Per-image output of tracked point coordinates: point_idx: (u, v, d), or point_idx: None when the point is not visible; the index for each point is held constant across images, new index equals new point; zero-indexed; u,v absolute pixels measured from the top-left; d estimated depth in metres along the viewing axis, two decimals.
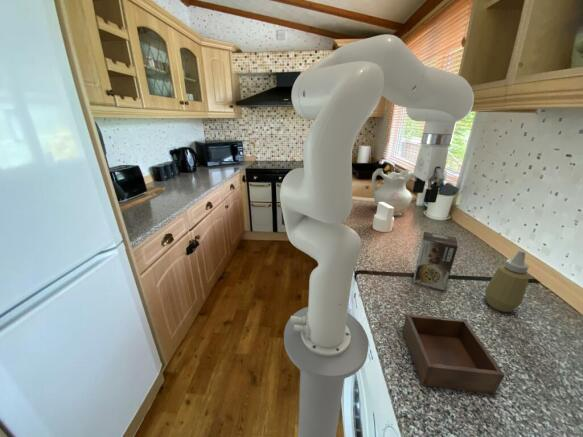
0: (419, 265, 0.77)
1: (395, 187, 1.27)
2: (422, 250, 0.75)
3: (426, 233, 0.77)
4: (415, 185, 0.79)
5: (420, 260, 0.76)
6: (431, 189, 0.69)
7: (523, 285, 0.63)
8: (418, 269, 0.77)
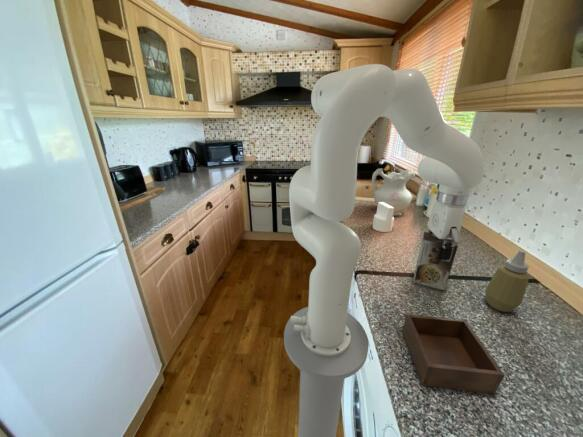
0: (419, 265, 0.77)
1: (395, 187, 1.27)
2: (422, 250, 0.75)
3: (426, 233, 0.77)
4: None
5: (420, 260, 0.76)
6: (446, 248, 0.69)
7: (523, 285, 0.63)
8: (418, 269, 0.77)
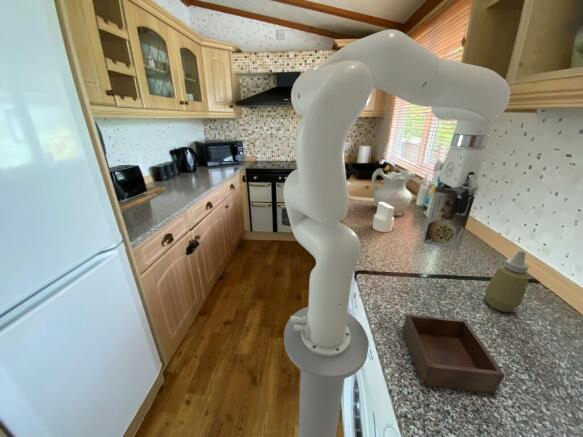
0: (430, 222, 0.69)
1: (395, 187, 1.27)
2: (434, 204, 0.67)
3: (438, 187, 0.70)
4: None
5: (431, 216, 0.69)
6: (461, 198, 0.62)
7: (523, 285, 0.63)
8: (429, 227, 0.70)
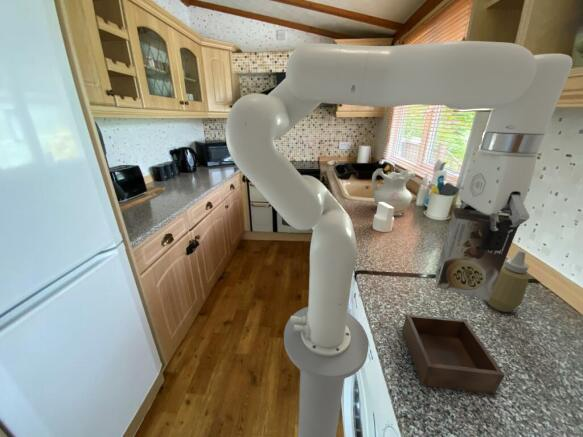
0: (447, 260, 0.48)
1: (395, 187, 1.27)
2: (454, 235, 0.46)
3: (458, 209, 0.48)
4: None
5: (449, 252, 0.47)
6: (498, 230, 0.40)
7: (523, 285, 0.63)
8: (445, 267, 0.48)
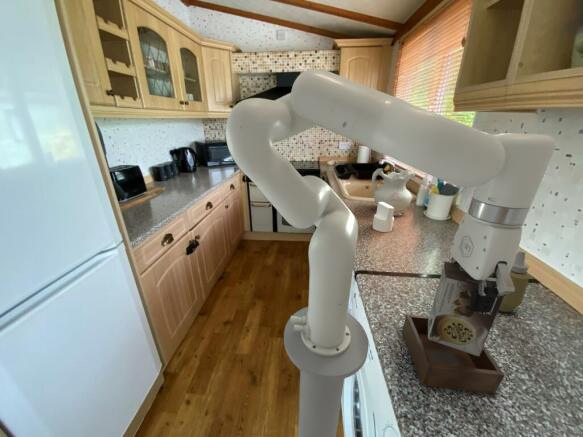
0: (438, 315, 0.48)
1: (395, 187, 1.27)
2: (444, 293, 0.46)
3: (449, 264, 0.49)
4: None
5: (440, 308, 0.48)
6: (486, 296, 0.41)
7: (523, 285, 0.63)
8: (436, 321, 0.49)
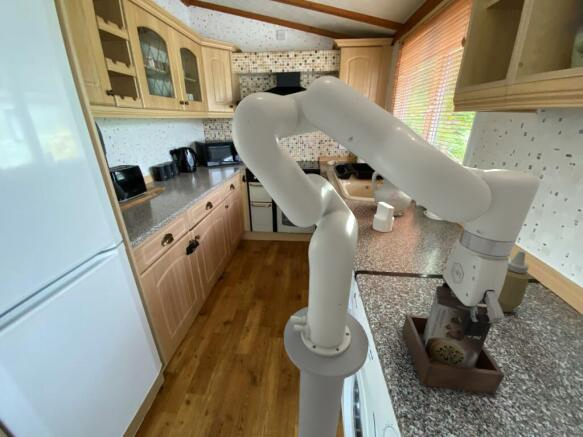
0: (431, 338, 0.51)
1: (395, 187, 1.27)
2: (436, 318, 0.49)
3: (441, 289, 0.51)
4: None
5: (432, 331, 0.50)
6: (478, 322, 0.42)
7: (523, 285, 0.63)
8: (429, 343, 0.51)
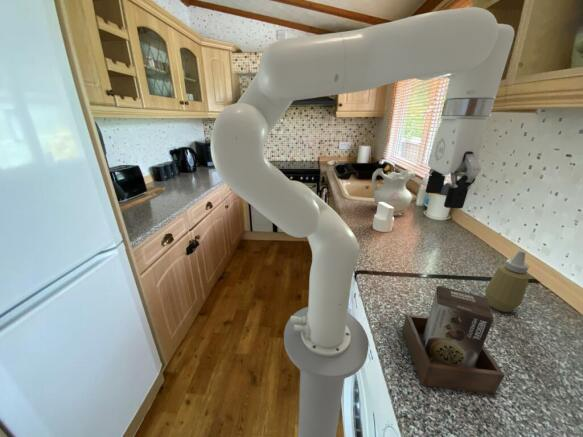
0: (431, 338, 0.51)
1: (395, 187, 1.27)
2: (436, 318, 0.49)
3: (441, 289, 0.51)
4: (430, 182, 0.54)
5: (432, 331, 0.50)
6: (458, 187, 0.44)
7: (523, 285, 0.63)
8: (429, 343, 0.51)
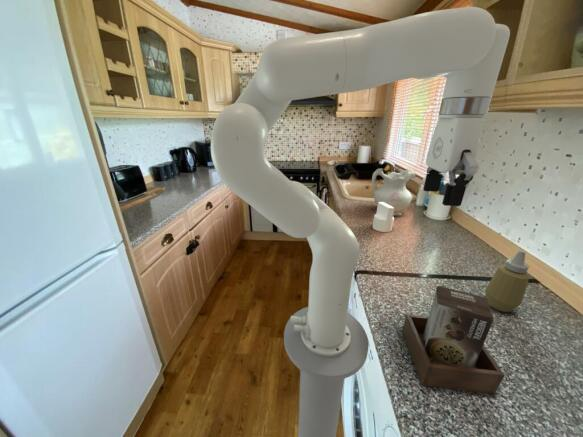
0: (431, 338, 0.51)
1: (395, 187, 1.27)
2: (436, 318, 0.49)
3: (441, 289, 0.51)
4: (427, 180, 0.55)
5: (432, 331, 0.50)
6: (456, 185, 0.44)
7: (523, 285, 0.63)
8: (429, 343, 0.51)
